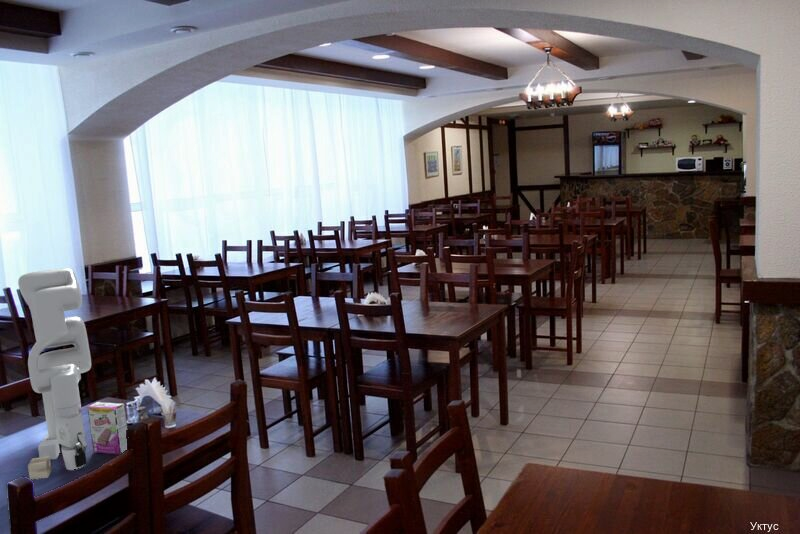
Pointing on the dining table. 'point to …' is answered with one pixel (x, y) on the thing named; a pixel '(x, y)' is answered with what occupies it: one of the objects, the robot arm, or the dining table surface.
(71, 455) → the white cup
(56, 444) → the grey block
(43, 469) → the birch block
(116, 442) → the candy bar box
